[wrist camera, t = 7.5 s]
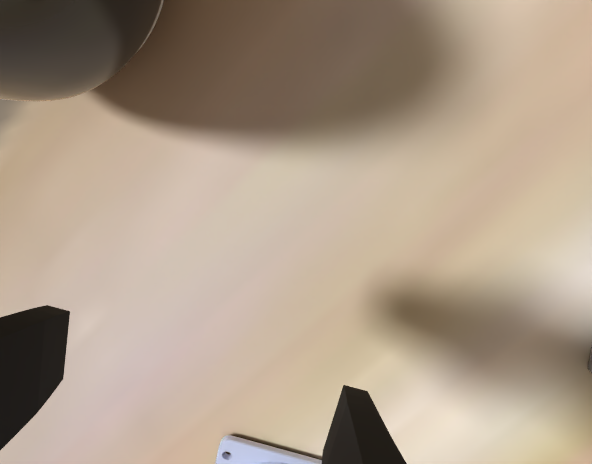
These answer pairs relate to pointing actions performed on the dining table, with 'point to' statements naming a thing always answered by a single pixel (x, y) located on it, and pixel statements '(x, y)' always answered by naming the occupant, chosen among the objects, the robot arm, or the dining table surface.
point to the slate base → (590, 362)
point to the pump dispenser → (68, 44)
